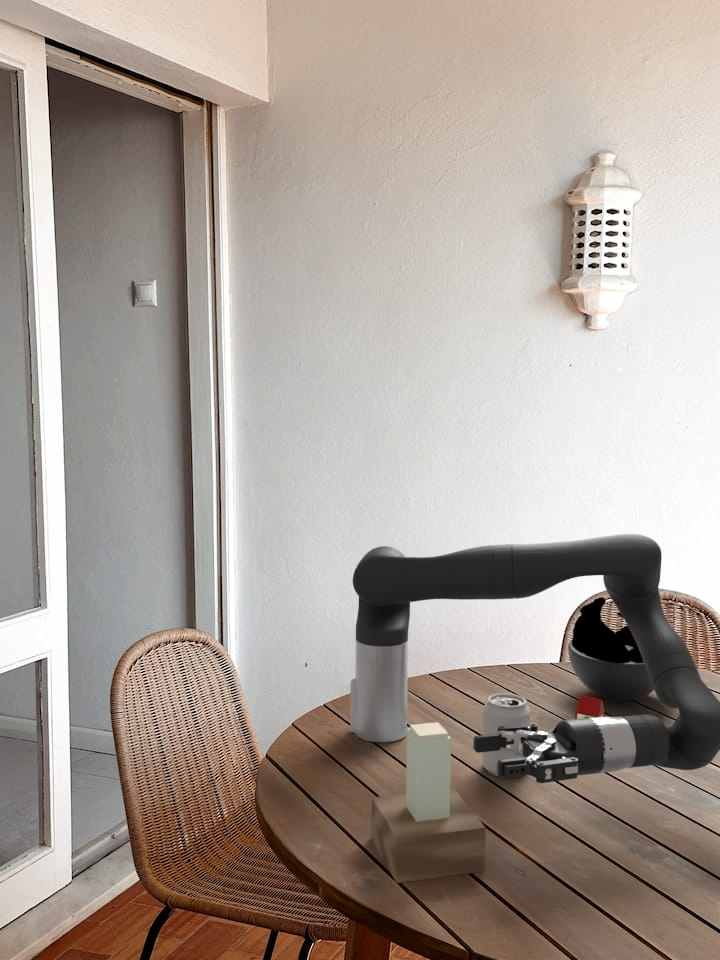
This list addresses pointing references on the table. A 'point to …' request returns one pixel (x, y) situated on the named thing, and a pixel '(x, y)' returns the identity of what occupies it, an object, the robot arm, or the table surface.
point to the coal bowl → (607, 657)
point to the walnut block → (427, 840)
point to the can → (502, 713)
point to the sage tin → (428, 772)
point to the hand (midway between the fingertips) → (485, 756)
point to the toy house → (589, 708)
